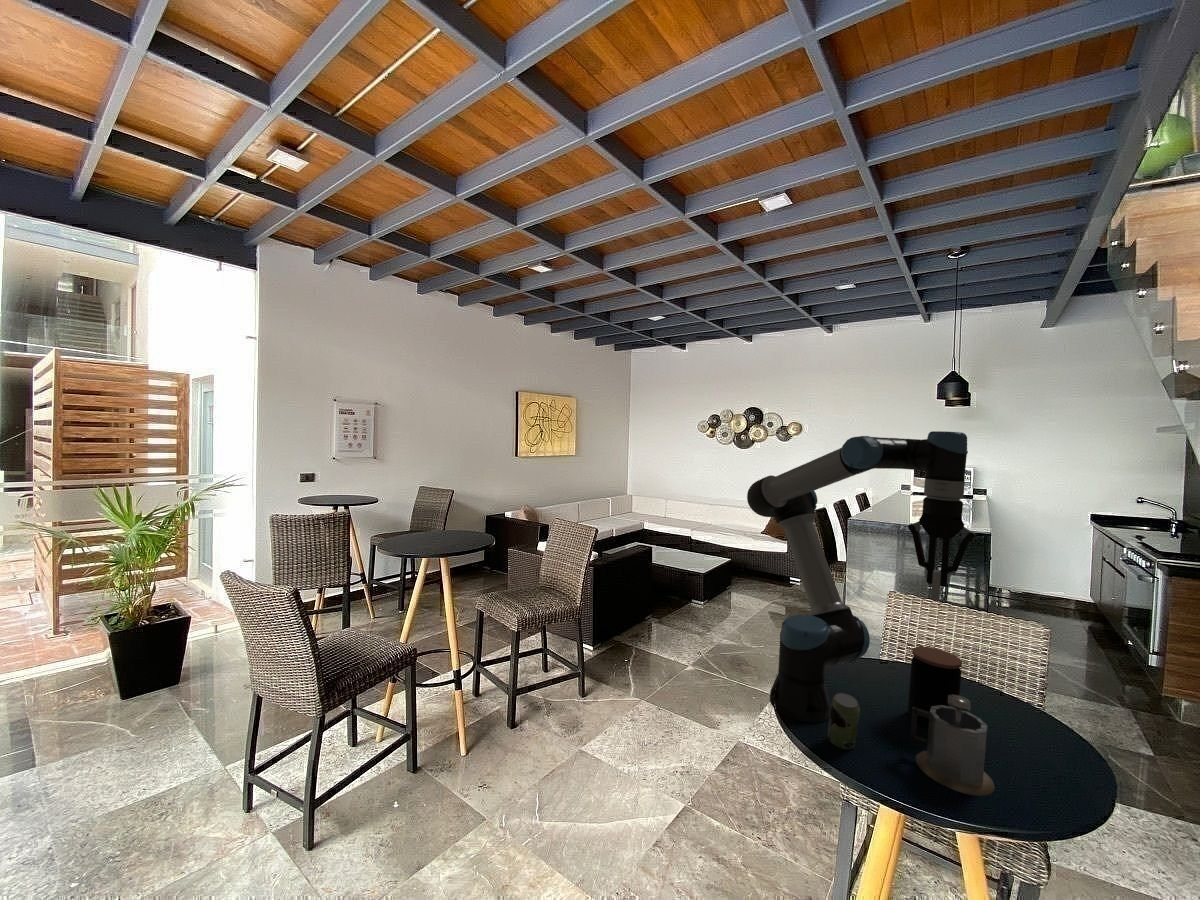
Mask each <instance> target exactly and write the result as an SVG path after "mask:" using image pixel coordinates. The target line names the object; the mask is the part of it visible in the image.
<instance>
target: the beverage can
mask: <svg viewBox="0 0 1200 900" xmlns="http://www.w3.org/2000/svg"><path fill="white" fill-rule="evenodd" d="M830 701H831V702H830V706H831V708H830V717H829V718H828V725H827V738H828V741H829V742H830V743H831V744H832V745H834V746H835V747H836V748H839V749H842V750H853V749H854V748H855V747H856V745H857V744H856V742H857V737H858V736H857V735H858V728H859V722H860V721H859V720H860V714H861V708H860V705H859V702H858V700H857V698H855V696H852V695H851V694H848V693H846V692H837V693H836V694H834V696H833V697H832V699H831V700H830Z"/></svg>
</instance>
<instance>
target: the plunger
mask: <svg viewBox="0 0 1200 900" xmlns="http://www.w3.org/2000/svg"><path fill="white" fill-rule="evenodd" d="M948 704H949V705H950V706H952V707H953V708H956V713H955V725H954V726H957V727H960V723H961V710H962V711H967V712H969V711H971V705H972V703H971V701H970V700H969V699H968V698H966V697H965V696H963V695H960V696H958V695H948Z"/></svg>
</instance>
